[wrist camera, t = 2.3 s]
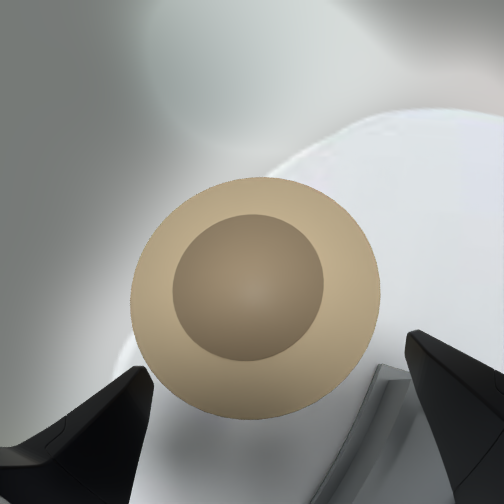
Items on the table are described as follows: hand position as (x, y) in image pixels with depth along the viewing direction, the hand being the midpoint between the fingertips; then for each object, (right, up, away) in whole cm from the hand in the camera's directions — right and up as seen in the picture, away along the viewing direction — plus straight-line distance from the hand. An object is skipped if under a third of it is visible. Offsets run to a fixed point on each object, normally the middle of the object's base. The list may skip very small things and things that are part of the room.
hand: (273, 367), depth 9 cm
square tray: (+10, -10, +4) cm, 15 cm away
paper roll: (+1, -2, +9) cm, 9 cm away
